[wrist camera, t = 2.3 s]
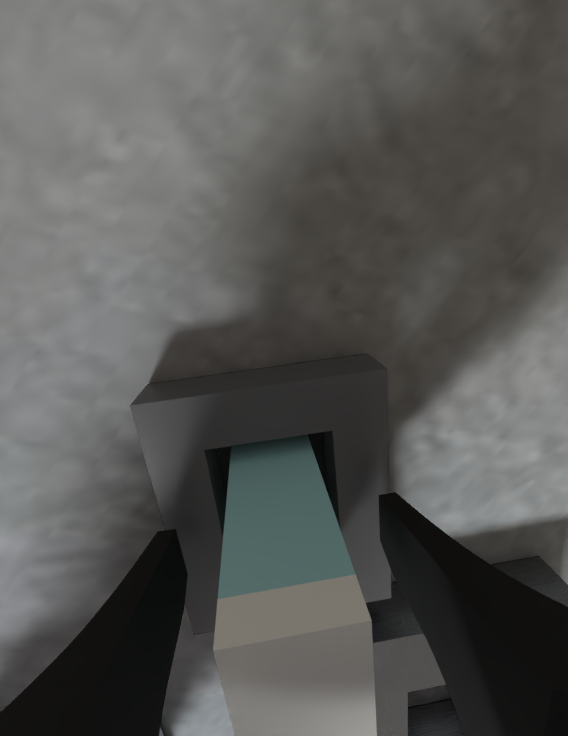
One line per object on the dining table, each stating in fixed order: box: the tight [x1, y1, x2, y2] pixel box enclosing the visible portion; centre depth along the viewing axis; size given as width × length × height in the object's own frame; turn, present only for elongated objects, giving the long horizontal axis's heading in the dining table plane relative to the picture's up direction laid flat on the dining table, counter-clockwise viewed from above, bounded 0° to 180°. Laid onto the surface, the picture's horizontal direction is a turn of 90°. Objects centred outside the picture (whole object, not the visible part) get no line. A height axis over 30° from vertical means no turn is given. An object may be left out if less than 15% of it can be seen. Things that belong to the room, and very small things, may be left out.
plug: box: [213, 435, 377, 736], centre depth 11 cm, size 3×5×8 cm, turn 6°
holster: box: [130, 354, 391, 635], centre depth 14 cm, size 8×10×2 cm
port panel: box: [366, 556, 568, 736], centre depth 18 cm, size 12×14×3 cm
